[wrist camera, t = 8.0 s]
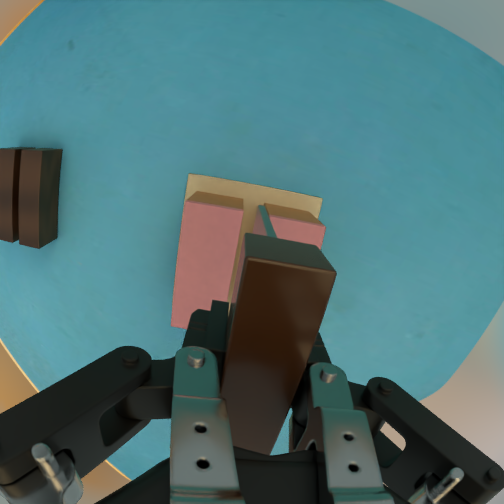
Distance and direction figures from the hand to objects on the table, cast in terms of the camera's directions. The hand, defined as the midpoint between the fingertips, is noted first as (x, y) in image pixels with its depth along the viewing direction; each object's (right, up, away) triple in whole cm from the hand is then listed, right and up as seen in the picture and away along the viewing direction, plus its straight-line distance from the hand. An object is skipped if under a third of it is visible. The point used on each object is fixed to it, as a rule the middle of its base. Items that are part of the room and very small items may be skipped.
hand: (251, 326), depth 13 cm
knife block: (-24, +10, +15) cm, 30 cm away
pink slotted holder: (-1, +3, +19) cm, 19 cm away
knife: (0, +2, +7) cm, 7 cm away
